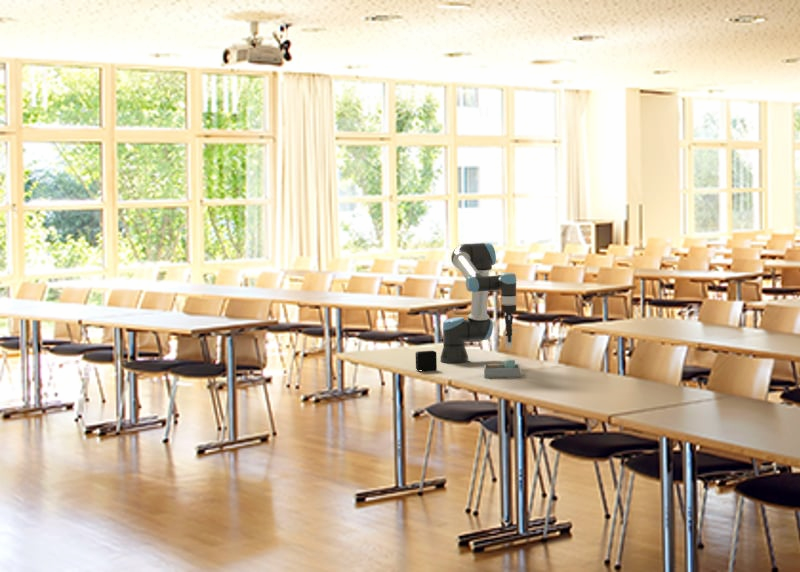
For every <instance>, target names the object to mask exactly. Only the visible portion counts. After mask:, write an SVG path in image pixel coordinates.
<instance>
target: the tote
mask: <svg viewBox="0 0 800 572" xmlns="http://www.w3.org/2000/svg"><path fill="white" fill-rule="evenodd" d="M483 365H484V367H483V369H484V370H483V372H484V375H483V376H484V377H483V378H484V379H498V378H497V377H500V379H502V378H505V377H514V378H517V379H518V378H521V365H520V364H518V363H517V364H516V363H515V368H505V364H499V368H498V369H489V364H483ZM505 379H506V378H505Z"/></svg>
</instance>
